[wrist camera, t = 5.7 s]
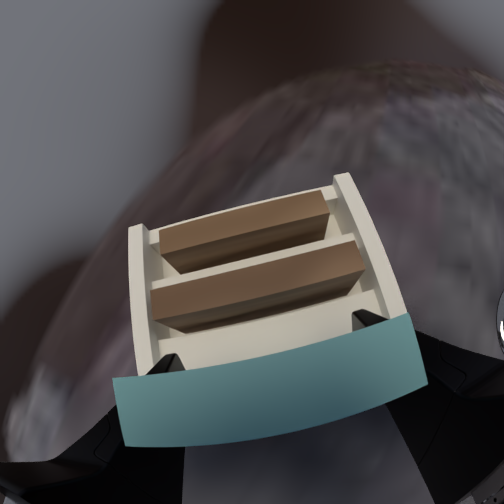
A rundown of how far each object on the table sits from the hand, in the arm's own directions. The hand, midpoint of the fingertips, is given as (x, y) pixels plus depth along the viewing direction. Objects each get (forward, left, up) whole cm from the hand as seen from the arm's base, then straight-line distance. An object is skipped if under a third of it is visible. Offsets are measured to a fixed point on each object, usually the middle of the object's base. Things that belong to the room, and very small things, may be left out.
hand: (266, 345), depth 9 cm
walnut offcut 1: (+4, -5, -7) cm, 10 cm away
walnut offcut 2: (+2, -2, -7) cm, 8 cm away
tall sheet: (-1, +1, -6) cm, 6 cm away
